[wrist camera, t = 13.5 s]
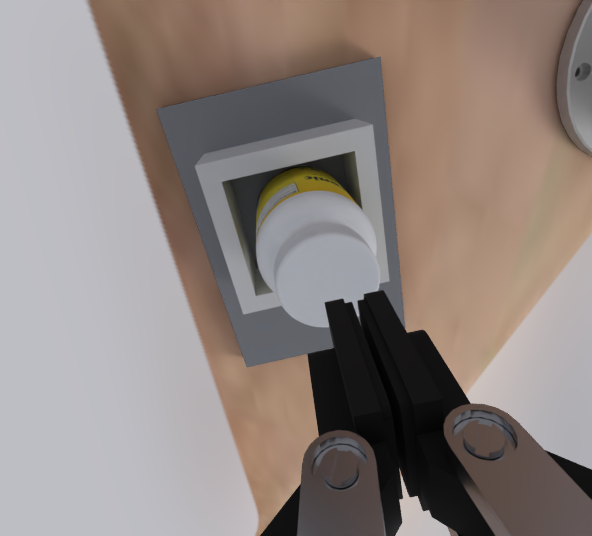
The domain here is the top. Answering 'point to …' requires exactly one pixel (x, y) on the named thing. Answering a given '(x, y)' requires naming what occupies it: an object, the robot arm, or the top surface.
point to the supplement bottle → (314, 243)
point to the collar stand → (265, 164)
